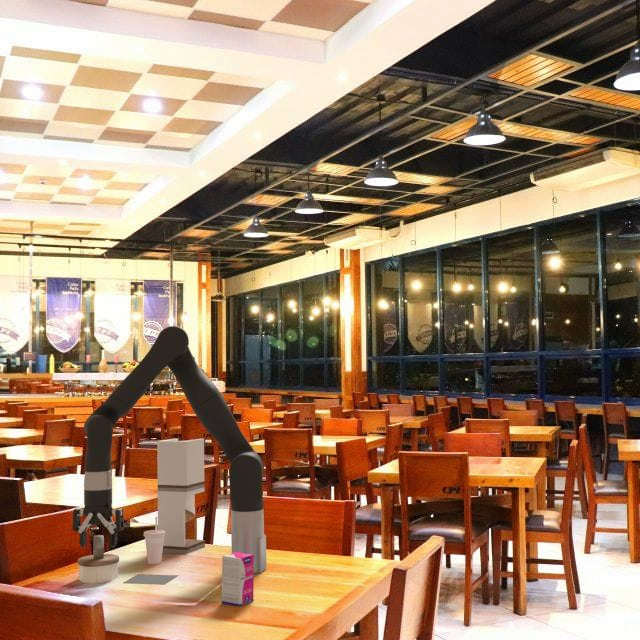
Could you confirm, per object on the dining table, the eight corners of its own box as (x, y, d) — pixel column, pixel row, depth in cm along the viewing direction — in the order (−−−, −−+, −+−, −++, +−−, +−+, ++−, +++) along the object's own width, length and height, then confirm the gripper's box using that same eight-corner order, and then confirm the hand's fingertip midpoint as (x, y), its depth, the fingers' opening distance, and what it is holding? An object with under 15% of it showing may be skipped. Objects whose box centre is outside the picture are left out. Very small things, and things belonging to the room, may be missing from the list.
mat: (178, 577, 229) (178, 575, 229) (164, 586, 219) (164, 584, 219) (138, 576, 231) (138, 574, 231) (122, 585, 221) (122, 583, 221)
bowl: (122, 576, 231) (122, 558, 231) (106, 585, 221) (106, 566, 222) (90, 575, 233) (90, 557, 233) (73, 584, 223) (73, 565, 224)
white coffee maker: (187, 553, 259) (186, 441, 262) (158, 551, 263) (157, 441, 265) (205, 546, 270) (203, 438, 272) (176, 544, 274) (175, 438, 276)
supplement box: (240, 607, 198) (239, 558, 199) (221, 603, 202) (220, 555, 202) (254, 601, 203) (254, 553, 204) (235, 598, 206) (235, 551, 207)
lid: (125, 558, 232) (125, 532, 232) (108, 567, 221) (108, 540, 221) (89, 557, 234) (89, 532, 234) (70, 566, 223) (70, 539, 224)
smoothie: (163, 567, 242) (162, 518, 243) (141, 567, 242) (141, 518, 243) (167, 562, 248) (167, 514, 249) (146, 562, 248) (146, 515, 249)
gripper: (128, 485, 231) (128, 544, 230) (81, 485, 234) (81, 543, 233) (116, 489, 224) (116, 550, 223) (67, 489, 227) (67, 549, 225)
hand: (98, 546), depth 228 cm, fingers open, 8 cm apart
